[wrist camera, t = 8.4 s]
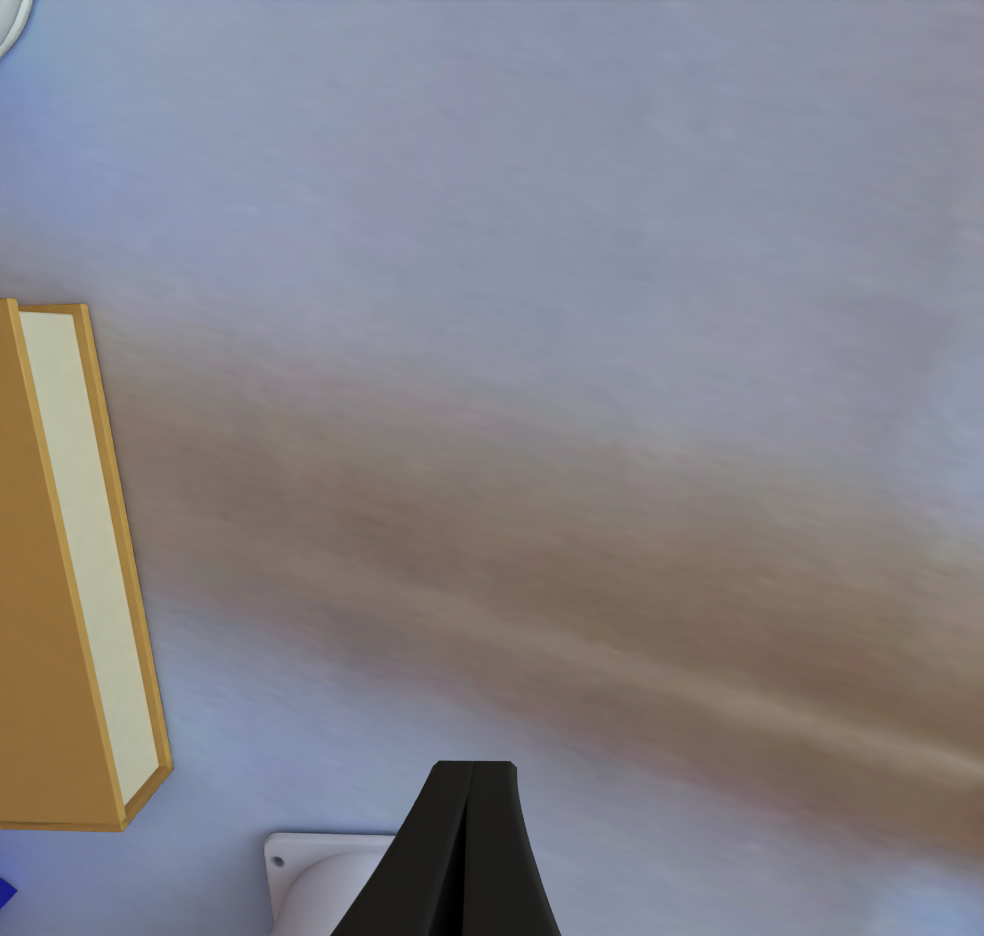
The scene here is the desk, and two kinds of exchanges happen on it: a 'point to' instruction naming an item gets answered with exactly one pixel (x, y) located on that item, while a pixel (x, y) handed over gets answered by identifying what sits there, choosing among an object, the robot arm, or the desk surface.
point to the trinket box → (12, 21)
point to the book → (68, 592)
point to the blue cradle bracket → (5, 892)
